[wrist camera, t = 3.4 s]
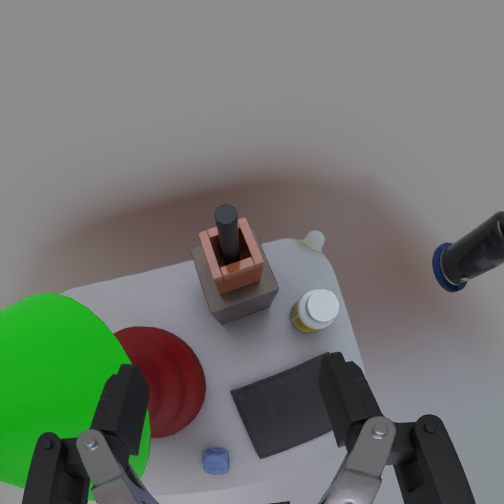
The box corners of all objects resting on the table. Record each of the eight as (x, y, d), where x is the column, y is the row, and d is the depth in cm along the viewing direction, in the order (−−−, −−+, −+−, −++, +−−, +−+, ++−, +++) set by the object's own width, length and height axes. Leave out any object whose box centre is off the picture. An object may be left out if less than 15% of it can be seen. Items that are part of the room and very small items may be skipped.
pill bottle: (327, 327, 46) (350, 319, 36) (295, 337, 45) (309, 333, 35) (317, 294, 48) (336, 278, 38) (285, 304, 48) (296, 290, 37)
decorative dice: (229, 465, 37) (228, 474, 33) (207, 465, 36) (204, 474, 33) (227, 447, 38) (226, 455, 34) (204, 447, 38) (201, 455, 34)
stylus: (237, 258, 35) (232, 201, 22) (242, 271, 34) (240, 219, 21) (223, 263, 35) (211, 208, 22) (228, 276, 34) (218, 227, 21)
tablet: (327, 352, 45) (329, 352, 44) (353, 417, 40) (355, 418, 39) (230, 390, 42) (230, 391, 41) (259, 457, 37) (260, 459, 36)
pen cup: (245, 243, 36) (245, 216, 29) (260, 280, 35) (264, 261, 28) (206, 256, 35) (197, 232, 28) (220, 295, 34) (213, 279, 27)
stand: (251, 261, 50) (253, 227, 37) (269, 306, 47) (279, 288, 34) (204, 277, 49) (189, 249, 36) (220, 324, 46) (211, 313, 33)
